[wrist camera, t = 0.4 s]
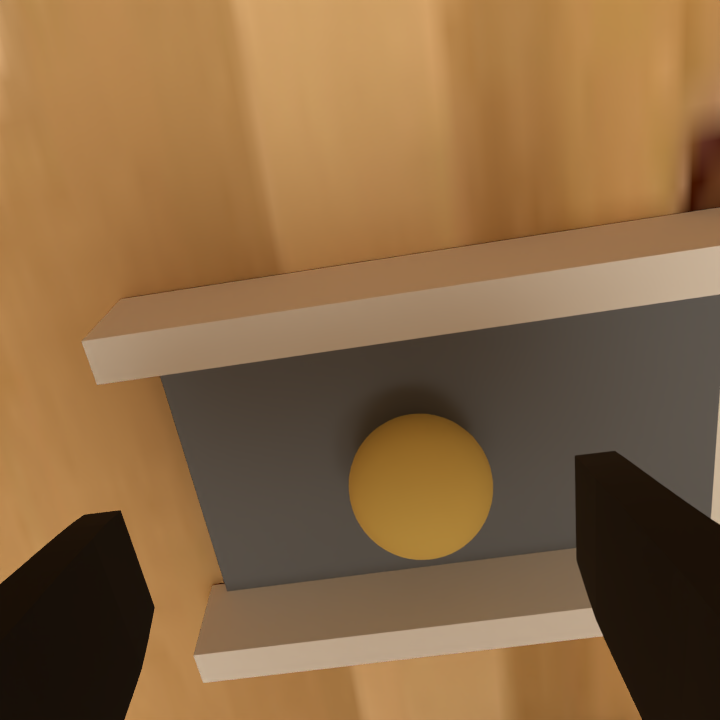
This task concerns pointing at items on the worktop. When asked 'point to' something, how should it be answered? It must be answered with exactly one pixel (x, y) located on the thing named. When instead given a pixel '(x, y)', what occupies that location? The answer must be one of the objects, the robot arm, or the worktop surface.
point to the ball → (420, 486)
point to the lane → (436, 397)
